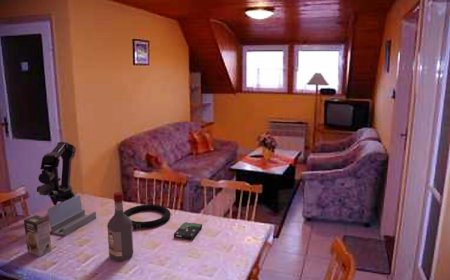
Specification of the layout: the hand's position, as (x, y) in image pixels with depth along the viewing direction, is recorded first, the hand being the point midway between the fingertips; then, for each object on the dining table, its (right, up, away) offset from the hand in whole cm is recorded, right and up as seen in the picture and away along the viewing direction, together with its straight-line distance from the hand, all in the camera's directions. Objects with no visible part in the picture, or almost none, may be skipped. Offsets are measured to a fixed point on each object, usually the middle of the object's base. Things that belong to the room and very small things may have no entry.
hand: (55, 204), depth 191 cm
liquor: (+46, -18, -32) cm, 58 cm away
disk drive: (+74, -14, -9) cm, 75 cm away
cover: (+7, -2, -2) cm, 8 cm away
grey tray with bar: (+12, -11, -2) cm, 16 cm away
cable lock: (+48, -10, +7) cm, 49 cm away
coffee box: (+7, -16, -29) cm, 34 cm away
